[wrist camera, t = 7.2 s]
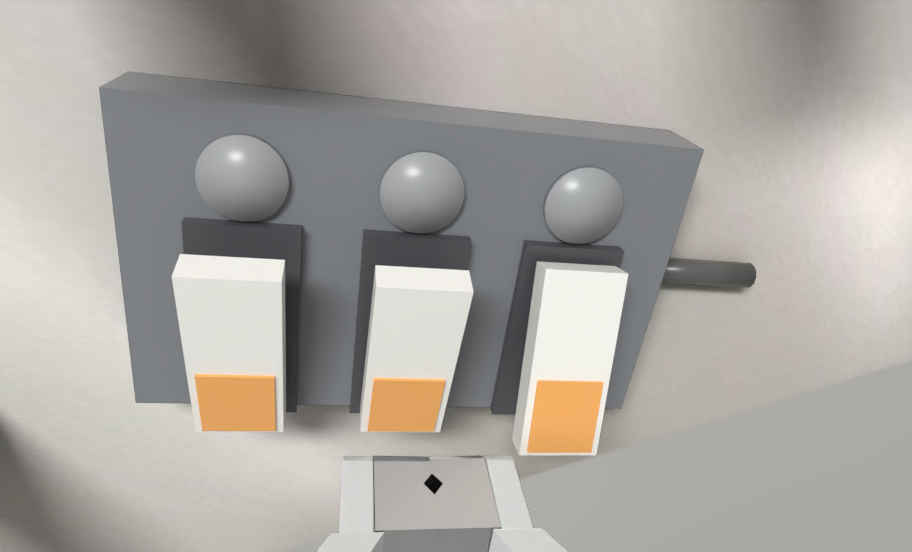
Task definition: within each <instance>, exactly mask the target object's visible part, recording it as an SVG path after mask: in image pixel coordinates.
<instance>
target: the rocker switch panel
mask: <svg viewBox="0 0 912 552" xmlns="http://www.w3.org/2000/svg"><path fill="white" fill-rule="evenodd" d="M99 92H100V100H101V109H102V117H103V126H104V134H105V143H106V152H107V160H108V169H109V177H110V186H111V194H112V203H113V212H114V220H115V229H116V237H117V246H118V254H119V263H120V272H121V280H122V289H123V297H124V306H125V314H126V323H127V332H128V340H129V349H130V357H131V366H132V374H133V383H134V392H135V400H136V403H191V400H190V393H189V387H188V380H187V374H186V367H185V361H184V354H183V348H182V341H181V335H180V328H179V322H178V315H177V309H176V303H175V296H174V290H173V283H172V274H173V271H174V269H175V266H176V263H177V261H178V258H179V255H180V254H189V255H207V256H225V257H242V258H260V259H278V260H285V316H286V412H296V411H297V405H350V413H360V404H361V395H362V386H363V376H364V367H365V358H366V348H367V339H368V330H369V320H370V311H371V302H372V293H373V283H374V274H375V265H381V266H399V267H416V268H434V269H452V270H469V273H470V277H471V282H472V287H473V297H472V301H471V305H470V309H469V313H468V317H467V321H466V326H465V330H464V334H463V338H462V342H461V346H460V351H459V355H458V359H457V363H456V367H455V371H454V375H453V380H452V384H451V388H450V392H449V396H448V400H447V405H446V407H490V408H491V411H492V414H516V407H517V400H518V393H519V386H520V378H521V371H522V364H523V357H524V350H525V342H526V335H527V328H528V321H529V314H530V306H531V299H532V292H533V285H534V278H535V270H536V263H537V261H540V262H556V263H573V264H589V265H605V266H616V267H618V268H620V269H621V270H623V271H625V272H626V273H628V280H627V285H626V291H625V296H624V302H623V308H622V313H621V319H620V325H619V330H618V336H617V341H616V347H615V353H614V358H613V364H612V369H611V375H610V381H609V386H608V392H607V397H606V403H605V409H621V407H622V404H623V401H624V398H625V395H626V392H627V388H628V385H629V382H630V379H631V376H632V373H633V370H634V367H635V363H636V360H637V357H638V354H639V351H640V348H641V345H642V342H643V338H644V335H645V332H646V329H647V326H648V323H649V320H650V317H651V313H652V310H653V307H654V304H655V301H656V298H657V295H658V292H659V289H660V285H661V282H662V283H680V284H697V285H715V286H733V287H750V286H752V285H753V284H754V282H755V279H756V270H755V267H754V266H753V265H752V264H751V263H739V262H723V261H708V260H692V259H677V258H669V257H670V254H671V251H672V248H673V245H674V242H675V239H676V235H677V232H678V229H679V226H680V223H681V220H682V217H683V214H684V210H685V207H686V204H687V201H688V198H689V195H690V192H691V189H692V185H693V182H694V179H695V176H696V173H697V170H698V167H699V164H700V160H701V157H702V154H703V151H704V149H702V148H700V147H699V146H697V145H695V144H693V143H691V142H690V141H688V140H686V139H684V138H683V137H681V136H679V135H677V134H675V133H674V132H672V131H670V130H662V129H653V128H643V127H634V126H625V125H616V124H606V123H597V122H588V121H579V120H569V119H560V118H551V117H542V116H532V115H523V114H514V113H505V112H495V111H486V110H477V109H468V108H459V107H449V106H440V105H431V104H422V103H412V102H403V101H394V100H385V99H375V98H366V97H357V96H348V95H338V94H329V93H320V92H311V91H302V90H292V89H283V88H274V87H265V86H255V85H246V84H237V83H228V82H218V81H209V80H200V79H191V78H181V77H172V76H163V75H154V74H144V73H135V72H126V73H125V74H123V75H121V76H119V77H117V78H115V79H113V80H112V81H110V82H108V83H106V84H104V85H102V86H101V87H99Z"/></svg>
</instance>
